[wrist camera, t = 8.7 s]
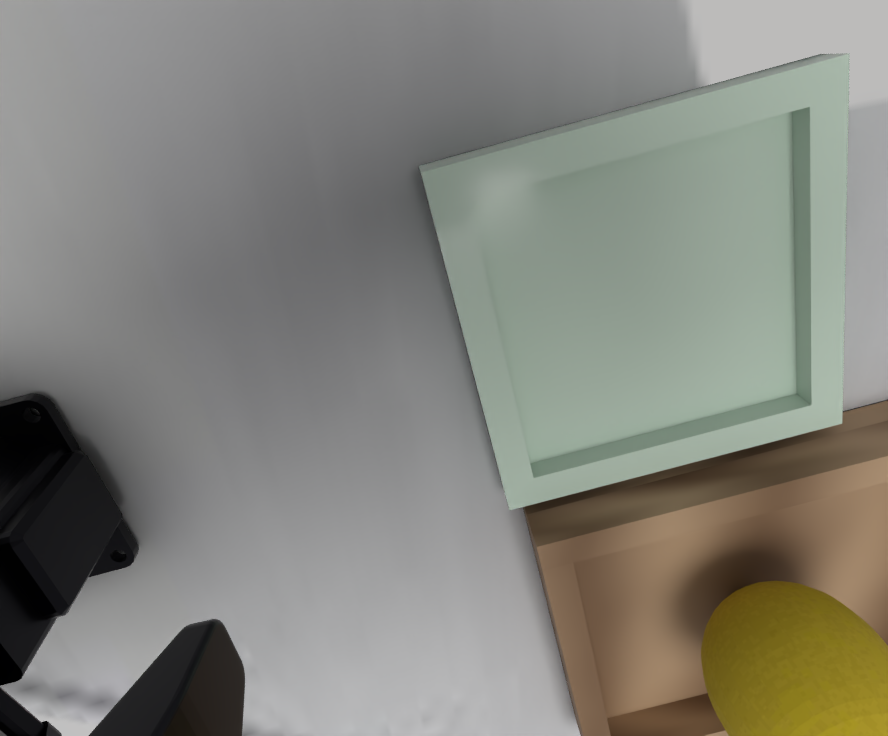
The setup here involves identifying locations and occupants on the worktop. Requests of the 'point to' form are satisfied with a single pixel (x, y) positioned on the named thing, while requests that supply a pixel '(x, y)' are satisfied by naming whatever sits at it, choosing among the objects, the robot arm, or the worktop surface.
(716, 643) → the lemon
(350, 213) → the worktop surface
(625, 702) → the tray
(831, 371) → the dish
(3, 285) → the worktop surface
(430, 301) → the worktop surface
